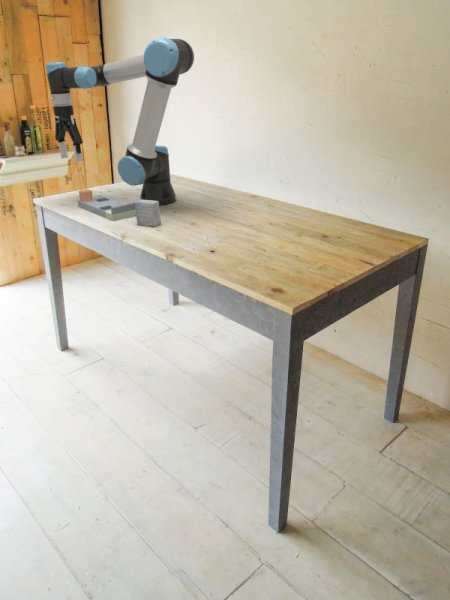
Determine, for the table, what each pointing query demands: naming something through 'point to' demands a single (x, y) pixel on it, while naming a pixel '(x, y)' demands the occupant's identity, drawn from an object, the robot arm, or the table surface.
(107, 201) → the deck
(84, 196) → the block
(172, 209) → the table surface
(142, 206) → the medicine box
